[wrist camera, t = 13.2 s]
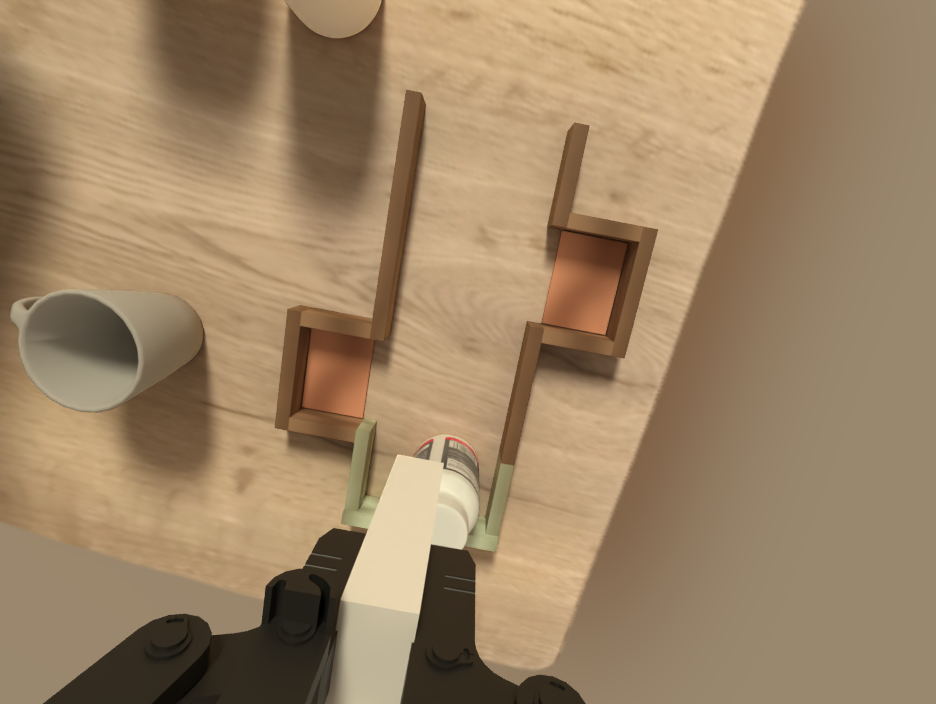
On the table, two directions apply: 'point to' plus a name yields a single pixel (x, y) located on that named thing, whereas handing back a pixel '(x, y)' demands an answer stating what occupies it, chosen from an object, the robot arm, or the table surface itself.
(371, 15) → the can
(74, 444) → the table surface
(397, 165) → the trap lane
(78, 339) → the cup
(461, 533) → the pill bottle
